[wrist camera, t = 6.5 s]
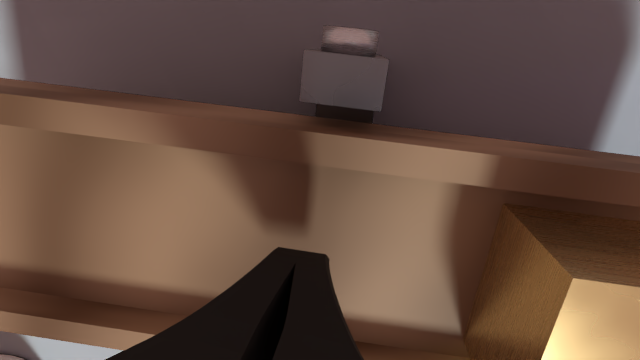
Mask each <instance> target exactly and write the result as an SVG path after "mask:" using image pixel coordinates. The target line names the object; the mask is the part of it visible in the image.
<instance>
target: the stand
mask: <svg viewBox="0 0 640 360" xmlns="http://www.w3.org/2000/svg"><path fill="white" fill-rule="evenodd" d="M378 36H379V32H378V31H373V30H366V29H358V28H349V27H339V26H323V36H322V46H321V49H310V50H304V52H303V64H302V75H301V87H300V99H299V101H300V102H308V103H316V104H317V105H316V115H315V117H322V118H330V119H338V120H347V121H355V122H363V123H371V124H372V120H373V113H374V111H380V112H381V108H382V102H383V96H384V90H385V84H386V77H387V71H388V65H389V59H387V58H385V57H384V56H382V55H376V49H377V43H378Z"/></svg>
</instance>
